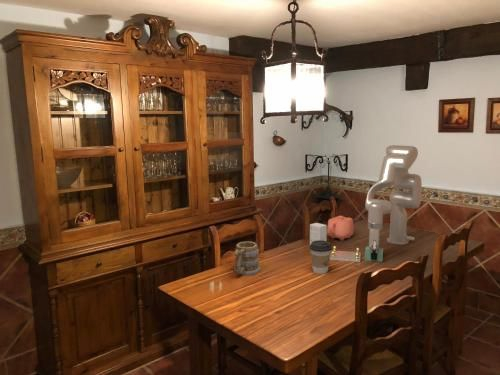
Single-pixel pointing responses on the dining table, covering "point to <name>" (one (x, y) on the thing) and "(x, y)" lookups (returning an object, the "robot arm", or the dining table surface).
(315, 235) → the small box
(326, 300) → the dining table surface
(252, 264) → the tankard
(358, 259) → the chassis plate
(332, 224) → the teapot
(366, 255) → the block
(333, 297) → the dining table surface
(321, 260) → the coffee cup
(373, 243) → the robot arm
